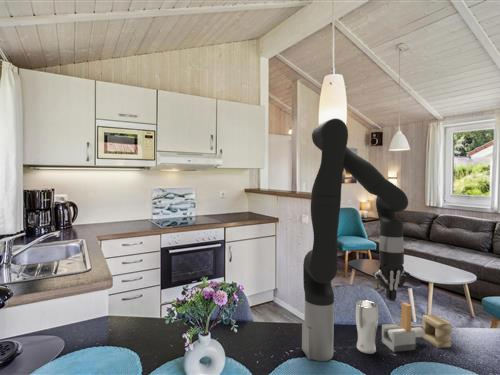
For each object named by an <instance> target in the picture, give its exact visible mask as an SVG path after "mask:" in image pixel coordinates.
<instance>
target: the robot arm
mask: <svg viewBox="0 0 500 375" xmlns="http://www.w3.org/2000/svg"><path fill="white" fill-rule="evenodd" d="M311 140H312V142H313V145H314V146H315V147H316V148H317V149H319V150H320V151H321V160H320V165H319V168H318V171H317V174H316V176H315V179H314V182H313V185H312V189H311V198H310V218H311V225H312V232H313V241H312V242H313V245H312V249H311V250H309V251H307V253H306V254H305V256H304V258H303V266H302V267H303V270H302V273H303V277H302V278H303V281H302V283H303V284H302V285H303V291H304V320H302V321H301V322H302V323H301V350H302V351H303V352H302V353H304V354H305V356H306V358H307V359H308V360H313V361H316V362H327V361H330V360H331V359H333V358H334V330H335V329H334V325H335V324H334V323H335V320H334V319H335V312H334V311H335V293H334V290H333V286H332V281H333V280H334V279H335V277H336V276H337V273H338V232H339V225H340V224H339V223H340V214H341V213H340V211H341V204H342V203H341V202H342V186H343V185H342V184H343V174H344V170H346V172H347V173H348V174H349V175H350V176H351V177H353V178H354V179H355V180H356V181H357V183H358V184H360V185H361V186H362V187H363V188H364V189H365V191H367V193H370V195H374V196H376V198H375V207H376V212H377V218H378V219H379V220H378V221H379V223H380V224H379V231H380V232H379V233H380V235H379V244H378V245H379V246H378V248H379V252H378V254H379V257H378V258H379V264H380V265H379V267H378V270H377V271H375V272H373V273H372V276H373V277H374V279H375V280H376V281H377V283H378V284H379V285H380V287H382V288H384V289H385V293H386V294H385V297H386V299H387V300H388V301H390V302H395V301H396V299H397V290H398V289H401V288H403V286H404V285H405V283H406V282H407V280H408V278H409V277H410V275H411V274H410V273H409V272H407V271H406V270H405V268H404V263H405V243H404V224H403V220H401V219H400V218H398V217H397V215H396V213H399V212H403V211H405V210H406V209H407V208H408V205H409V199H408V197H407V196H408V195H407V194H406V193H405V192H404V191H403V190H402V189H401V188H400V187H398V186H397V185H396V184H394V183H393V182H391V181H389V180H388V179H386V178H385V177H384V175H383V174H382V173H381V172H380V171H379V170H378V169H377V168H376V167H375V166H374V165H372V163H370V162H369V161H367V160H366V159H364V158H363V157H361V156H360V155H358V154H356V152H353V151H352V149H350V148H348V147H347V146H348V140H349V130H348V127H347V124H346V123H345V121H343V120H342V119H340V118H335V117H334V118H331V119H328V120H326V121H323V122H322V123H320V124H318V125H316V126H315V127H314V128H313V130H312V132H311Z"/></svg>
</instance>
